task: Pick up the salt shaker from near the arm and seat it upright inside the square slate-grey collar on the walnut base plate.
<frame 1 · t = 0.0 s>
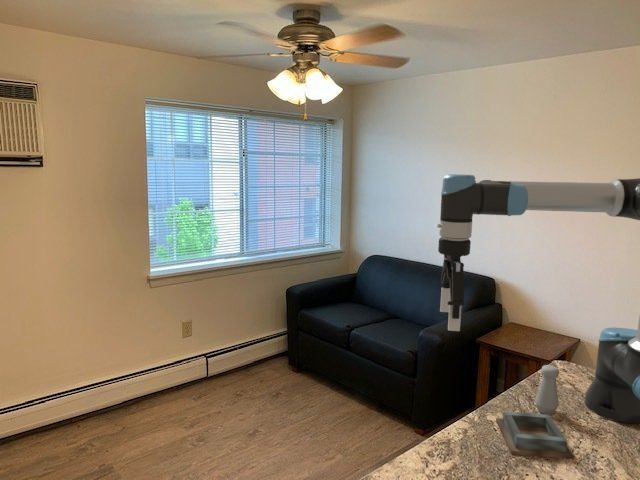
hand: (449, 320, 118), 28 cm above the countertop, fingers open, 13 cm apart
salt shaker: (545, 411, 129), on the countertop
collar socket: (532, 438, 116), on the countertop
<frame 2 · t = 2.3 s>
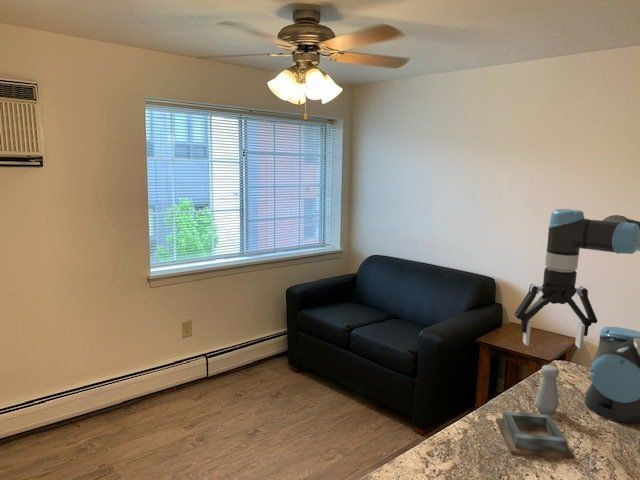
hand: (551, 345, 126), 19 cm above the countertop, fingers open, 13 cm apart
nothing on the countertop moved.
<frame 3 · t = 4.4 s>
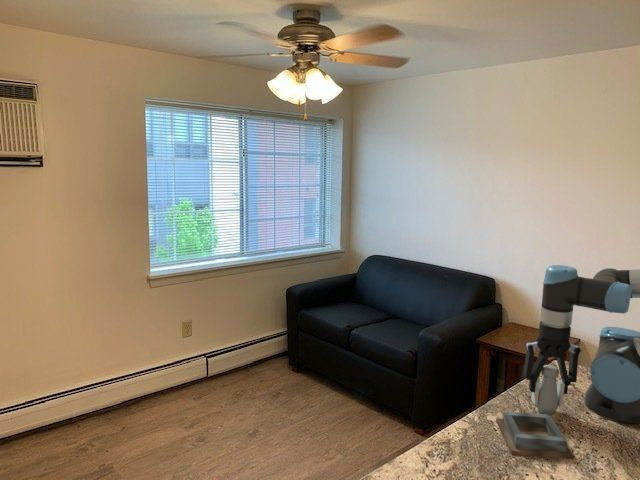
hand: (546, 403, 128), 2 cm above the countertop, fingers closed on salt shaker, 6 cm apart
salt shaker: (545, 411, 129), on the countertop, touching gripper
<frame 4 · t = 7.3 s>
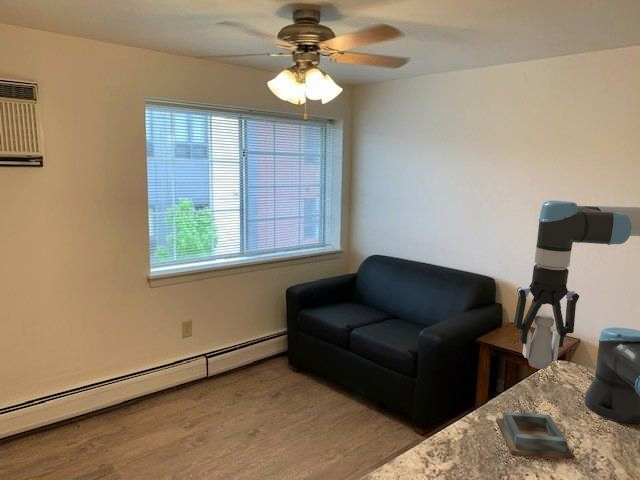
hand: (539, 357, 115), 20 cm above the countertop, fingers closed on salt shaker, 6 cm apart
salt shaker: (538, 366, 116), point 18 cm above the countertop, touching gripper
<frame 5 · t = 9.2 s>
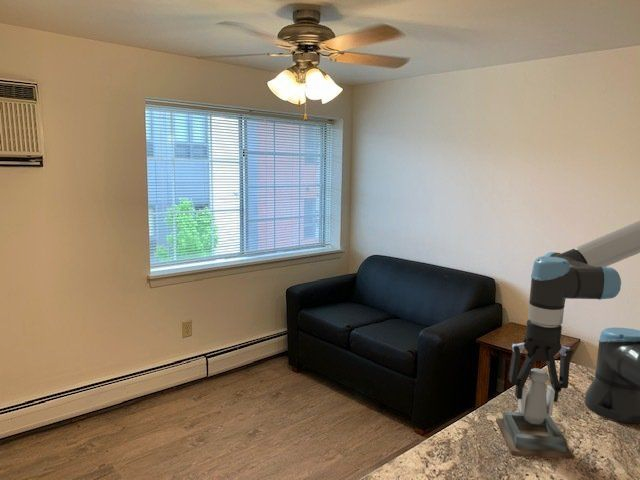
hand: (534, 411, 115), 7 cm above the countertop, fingers closed on salt shaker, 6 cm apart
salt shaker: (533, 420, 115), point 5 cm above the countertop, touching gripper
when the fingers open (5 cm above the countertop, at t = 10.5 s): salt shaker drops 1 cm, resting on collar socket.
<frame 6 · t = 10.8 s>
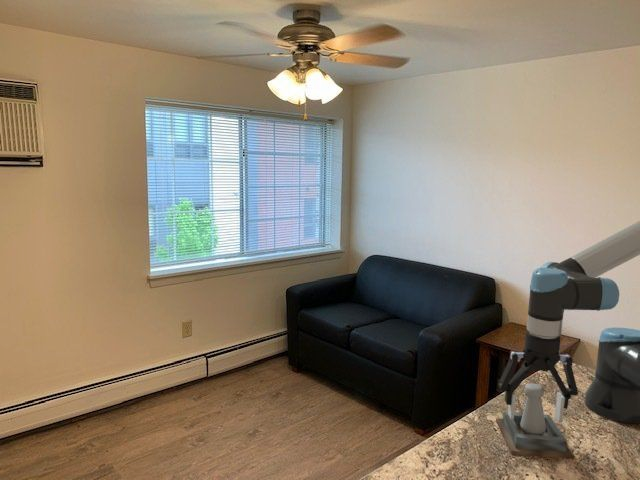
hand: (534, 417, 115), 6 cm above the countertop, fingers open, 10 cm apart
salt shaker: (532, 435, 116), point 1 cm above the countertop, touching collar socket
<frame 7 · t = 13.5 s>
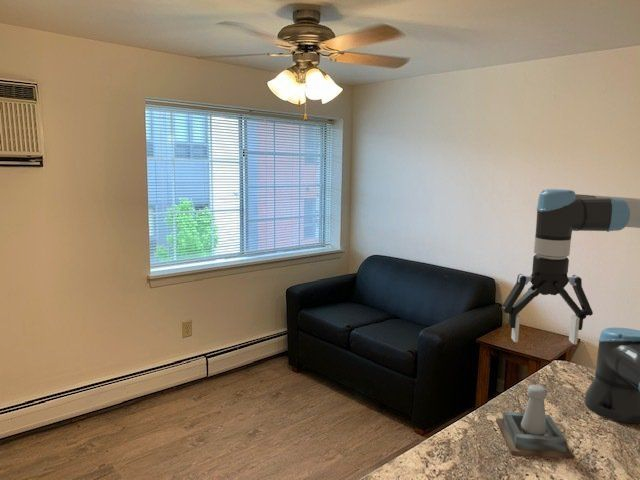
hand: (543, 341, 113), 25 cm above the countertop, fingers open, 13 cm apart
nothing on the countertop moved.
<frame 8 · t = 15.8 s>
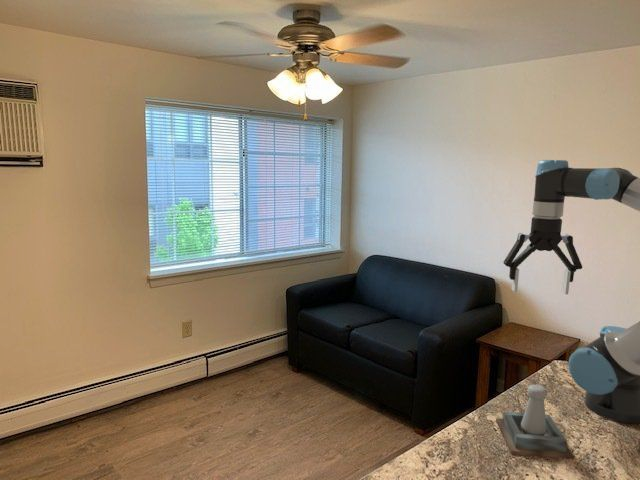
hand: (539, 292, 131), 32 cm above the countertop, fingers open, 13 cm apart
nothing on the countertop moved.
at the end: salt shaker 0.1 cm off-centre on the collar socket, point 0.6 cm above the collar socket's base; salt shaker tilted 0°; the gripper is holding nothing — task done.
